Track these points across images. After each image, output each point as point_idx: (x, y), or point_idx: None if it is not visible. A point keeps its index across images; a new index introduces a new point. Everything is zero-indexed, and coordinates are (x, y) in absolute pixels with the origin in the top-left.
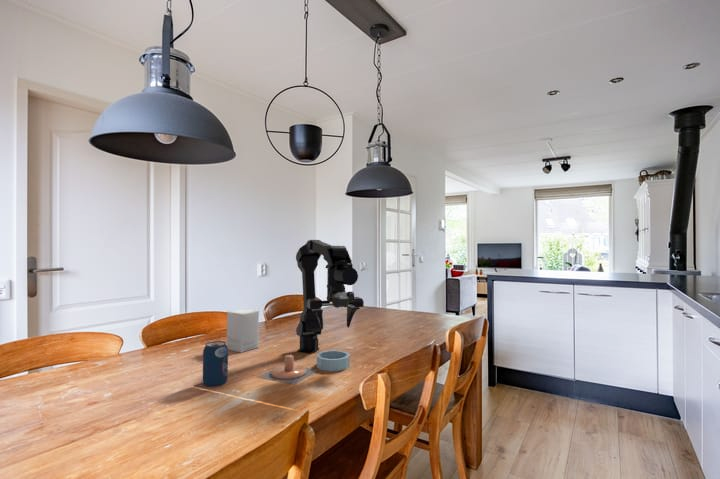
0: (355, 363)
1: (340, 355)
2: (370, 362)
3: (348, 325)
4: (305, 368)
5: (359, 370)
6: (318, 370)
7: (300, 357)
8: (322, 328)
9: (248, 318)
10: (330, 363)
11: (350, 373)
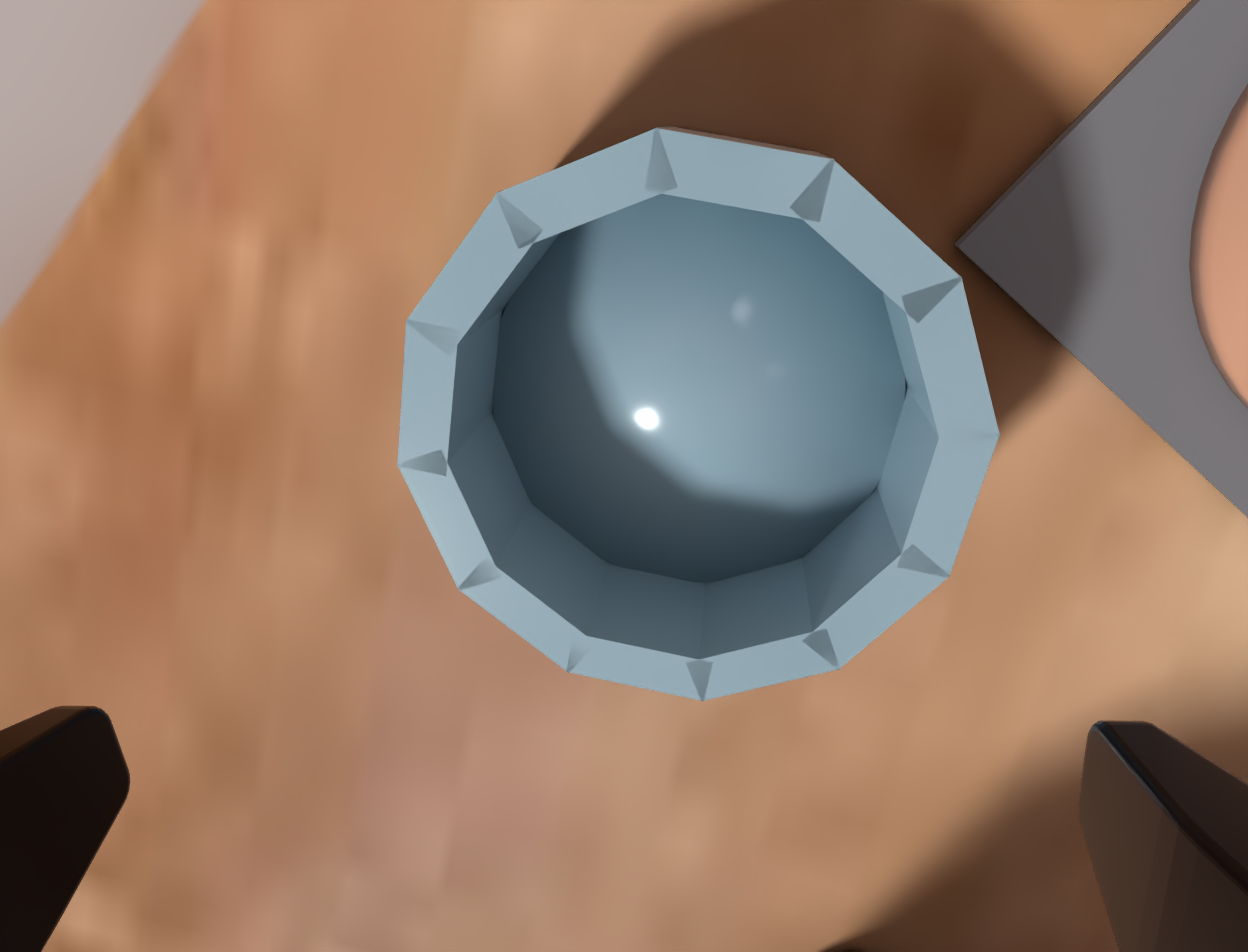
0: (359, 443)
1: (536, 558)
2: (156, 428)
3: (25, 736)
4: (1223, 233)
5: (342, 124)
6: (972, 230)
7: (1030, 862)
8: (1132, 729)
9: None
10: (802, 152)
11: (497, 12)
